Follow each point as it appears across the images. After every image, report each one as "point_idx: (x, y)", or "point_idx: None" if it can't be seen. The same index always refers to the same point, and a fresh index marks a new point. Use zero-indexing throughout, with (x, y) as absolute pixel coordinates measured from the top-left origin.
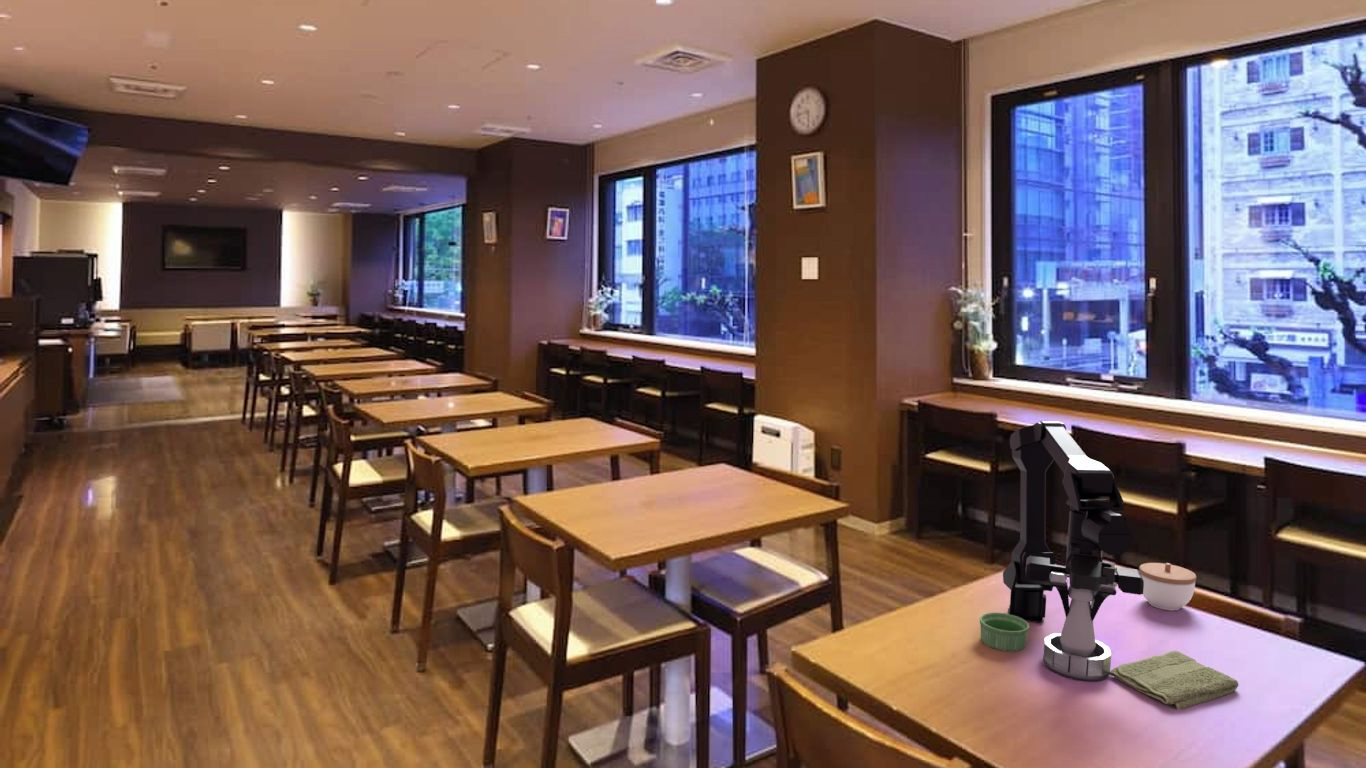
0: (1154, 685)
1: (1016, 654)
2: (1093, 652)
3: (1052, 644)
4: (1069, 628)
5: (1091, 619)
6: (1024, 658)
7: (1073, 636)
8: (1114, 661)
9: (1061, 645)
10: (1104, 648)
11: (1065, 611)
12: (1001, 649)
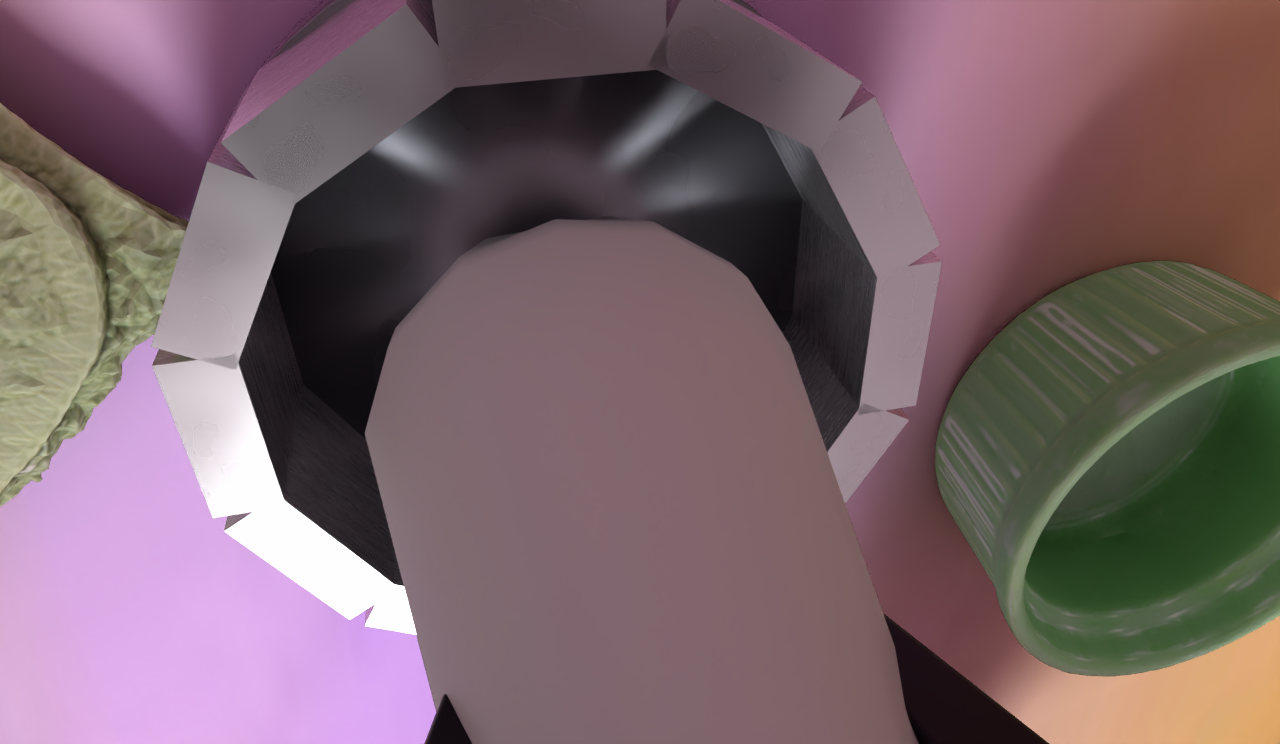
0: None
1: (1031, 253)
2: None
3: None
4: (783, 436)
5: (463, 730)
6: (980, 207)
7: (691, 331)
8: (238, 549)
9: None
10: (273, 489)
11: (975, 697)
12: (1148, 262)
